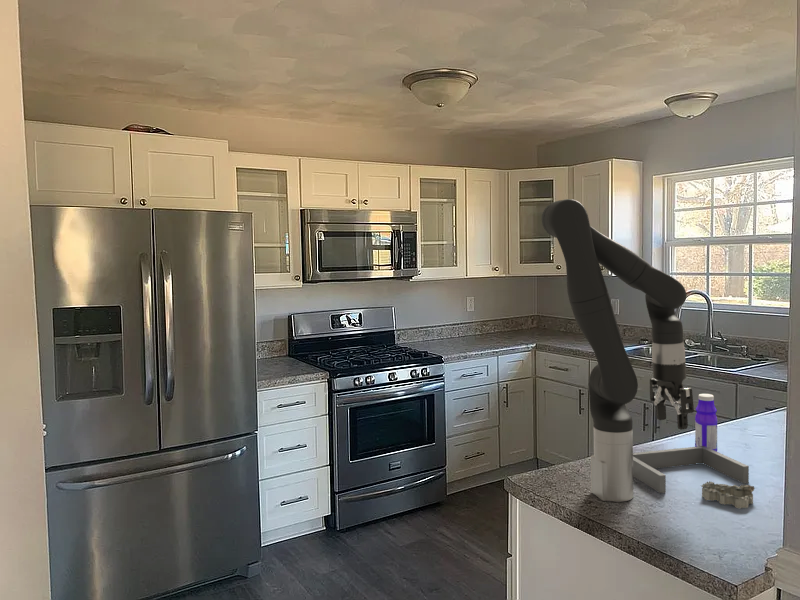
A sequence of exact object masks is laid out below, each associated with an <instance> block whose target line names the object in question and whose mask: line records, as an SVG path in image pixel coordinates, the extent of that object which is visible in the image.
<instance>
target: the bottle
mask: <svg viewBox="0 0 800 600" xmlns="http://www.w3.org/2000/svg"><path fill="white" fill-rule="evenodd" d="M697 402H698V403H697V406H696V407H695V411H696V413H695V417H694V420H695V421H694V425H695V427H694V429H695V430H694V431H695V435H694V437H695V439H694V442H695V443H694V447H698V446H705V447H707V448H710V449H712V450H714V451H716V452H718V423H719V422H718V417H717V414H716V413H717V411H718V410H717V408H716V406H715V396H714V395H713V394H711V393H699V394H698V401H697Z"/></svg>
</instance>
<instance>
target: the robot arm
mask: <svg viewBox="0 0 800 600" xmlns="http://www.w3.org/2000/svg"><path fill="white" fill-rule="evenodd" d="M541 225H542V227H543V229H544V231H545V232H546V233H547V234H548V235H550V236H551V237H553V238H556V239H557V241H558V244H559V246H560V249H561V251H562V254H563V255H562V256H563V258H564V262H565V267H566V288H567V290H566V291H567V297H568V300H569V301H568V302H569V304H570V307H571V310H572V311H571V312H572V314H573V317H574V319H575V322H576V323H577V326H578V328H579V329H580V331H581V332H582V334H583V336H584V337H585V339H586V340H587V342H588V344H589V345H590V347H591V349H592V351H593V353H594V355H595V358H596V361H597V364H596V365H595V366H594V367H593V368H592V370H591V372H590V375H589V377H588V378H589V380H588V398H589V399H588V400H589V411H590V416H591V418H592V421H593V423H592V424H593V454H592V455H590V493H592V494H593V495H594V496H596V497H598V499H599V500H601V501H603V502H605V501H608V502H617V503H618V502H621V503H622V502H627V501H630V500H632V499H633V498H634V476H633V453H634V440H633V439H634V438H633V436H634V433H633V432H634V431H633V429H634V427H633V425H634V424H633V417H632V416H631V414H630V412H629V411H628V409H627V407H626V404H630V402H632V401H633V400H634V399H635V397H636V396H637V393H638V388H639V386H638V385H639V384H638V383H639V382H638V378H637V376H636V372H635V369H634V368H633V366H632V362H631V361H630V358H629V356H628V354H627V350H626V349H625V346H624V342H623V340H622V335H621V332H620V329H619V324H618V322H617V319H616V315H615V311H614V308H613V304H612V300H611V297H610V293H609V289H608V288H607V284H606V282H605V278H604V275H603V271H602V268H601V266H602V267H603V268H605V269H606V270H607V271H608V272H610V273H611V274H613V275H614V276H615V277H617V278H618V279H619V280H621V281H622V282H624V283H625V284H627V286H630V287H631V288H633V289H635V290H638V291H640V292H643V293H644V294H645V305H646V308H647V312H648V313H647V314H648V316H649V320H650V323H651V339H652V349H651V357H652V358H651V359H652V360H651V361H652V378H649V399H650V402H653V404H654V406H655V408H656V409H655V410H656V419H657V420H658V421H663V420H664V421H665V420H666V419H667V407H666V402H667V401H668V402H670V404H671V406H672V407H674V409H675V411H676V412H677V413H676V417H677V418H676V420H677V423H676V424H677V428H678V430H687V429H688V427H689V426H688V423H689V422H688V421H689V420H688V415H689V414H692V413H694V412H695V408H694V398H693V397H694V396H693V395H694V394H693V388H692V387H687V388H686V387H684V385H683V382H684V380H686V378H687V365H686V350H685V343H684V328H683V322H682V320H681V319H680V318H679V317H678V316H677V315H676V312H675V310H676V309H678V308H681V307H682V306H683V305H684V304H685V302H686V301H687V300H686V299H687V290H686V288H685V287H684V285H683V284H682V283H681V282H680V281H678V280H677V279H676V278H674V277H672V276H671V275H669V274H667V273H665V272H664V271H662V270H661V269H659V268H656V267H654V266H653V265H652V264H650V263H649V262H648V261H647V260H646V259H643V258H642V257H641V256H639V254H637V253H636V252H634V251H633V250H631V249H630V248H629V247H626V246H625V245H623V244H621V243H619V242H617V241H615V240H613V239H612V238H610V237H608V236H606V235H604V234H603V233H601V232H600V231H598V230H597V229H596V228H594V227H593V226H591V223H590V220H589V214H588V212H587V210H586V208H585V206H584V205H583V204H582V203H581V202H580V201H578V200H575V199H572V198H571V199H570V198H566V199H560V200H557V201H553V202H551V203H549V205H547V206H546V207H545V208H544V209H543V212H542V214H541ZM687 404H688V405H687Z"/></svg>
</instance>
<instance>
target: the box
mask: <svg viewBox="0 0 800 600" xmlns="http://www.w3.org/2000/svg"><path fill="white" fill-rule="evenodd" d="M696 463H704V464H703V465H705V464H706V465H705V466H707V465H708V466H707V467H709V466H710V467H709V468H711V467H712V468H711V469H713V468H714V469H713V470H715V471H717V472H719V473H721V474H723V475H725V476H726V477H729V478H731V479H733V480H735V481H737V482H739V483H741V484H742V485H747V484H749V480H750V478H749V477H750V475H749V474H750V473H749V470H750V469H749V465H747V464H745V463H742V461H741V462H740V461H738V460H736V459H734V458H731V457H729V456H728V455H724V454H723V453H721V452H718V451H717V452H716V451H714V450H712V449H710V448H707V447H705V446H698V447H695V446H692V447H691V446H690V447H680V448H670V449H661V450H660V449H659V450H650V451H638V452H633V478H635V479H637V480H638V481H640V482H642V483H643V484H645V485H646V484H647V486H648V487H650V489H651V488H652V489H653V490H655V492H657V491H658V492H657V493H659V494H665V492H666V491H667V489H666V487H667V486H666V483H667V482H666V478H667V477H666V474H665V473H662V471H661V472H660V471H659V470H657V469H661V468H662V469H663V468H664V467H665V468H673V467H672V466H675V467H682V466H681V465H684V466H690V465H689V464H694V465H697V464H696ZM665 468H664V469H665Z"/></svg>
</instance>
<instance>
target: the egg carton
mask: <svg viewBox="0 0 800 600" xmlns="http://www.w3.org/2000/svg"><path fill="white" fill-rule="evenodd" d="M700 486H701V498H703V497H704V498H703V499H704V501H707V500H711V501H714V500H717V501H716V502H718V501H719V504H721V505H723V504H724V505H723V506H725V505H731V504H732V506H734V507H735V508H737V509H748V508H749V505H753V503H754V493H753V492H754V490H755V489H756V488H755V486H753V485H750V484H748V485H747V484H743V483H741V484H740V486H738V485H737V484H734V485H728V484H725V483H715V482H714V481H713V482H712V481H710V480H709V481H706V482H705V483H703V484H702V485H700Z"/></svg>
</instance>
